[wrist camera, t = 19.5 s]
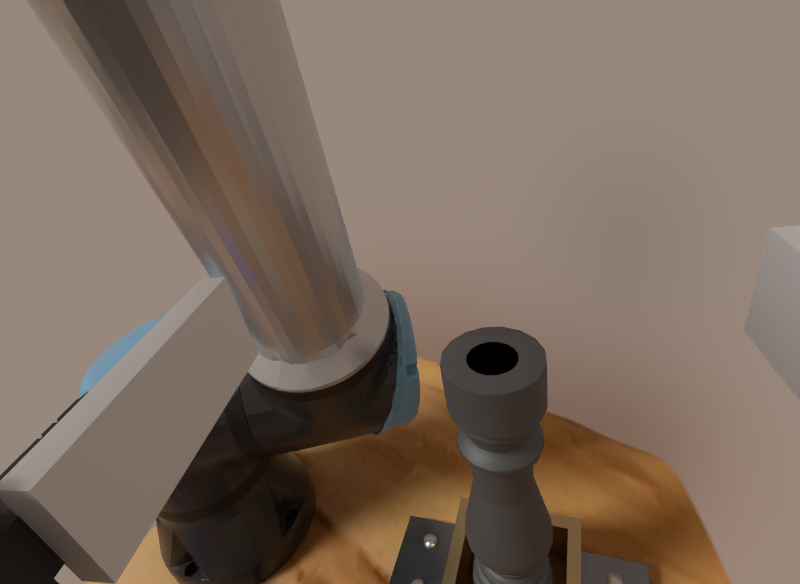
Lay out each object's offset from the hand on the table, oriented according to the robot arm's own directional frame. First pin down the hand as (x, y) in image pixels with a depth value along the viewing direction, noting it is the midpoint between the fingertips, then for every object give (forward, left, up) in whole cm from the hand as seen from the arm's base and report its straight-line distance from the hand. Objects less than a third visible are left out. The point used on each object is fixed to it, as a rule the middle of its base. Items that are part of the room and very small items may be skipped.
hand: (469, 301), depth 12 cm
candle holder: (-8, +6, -35) cm, 36 cm away
